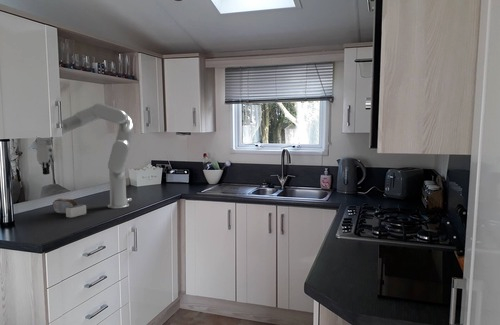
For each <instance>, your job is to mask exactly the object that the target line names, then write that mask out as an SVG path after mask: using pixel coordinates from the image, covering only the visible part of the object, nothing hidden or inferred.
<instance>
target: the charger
mask: <svg viewBox="0 0 500 325" xmlns="http://www.w3.org/2000/svg"><path fill="white" fill-rule="evenodd" d="M82 215H83V216H84V215H87V205H86V204H77V205H76V206H72V207H68V208H66V214H65V217H66V218H75V217H78V216H82Z"/></svg>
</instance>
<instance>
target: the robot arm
mask: <svg viewBox="0 0 500 325" xmlns="http://www.w3.org/2000/svg"><path fill="white" fill-rule="evenodd" d="M100 119H102V120H104V121H108V122H111V123H114V124H116V125H118V129H117V130H118V131H117V135H116V138H115V141H114V143H113V144H112V147H111V150H110V151H111V152H110V154H109V159H108V163H107V169H108V170H109V171H108V172H109V176H108V177H109V180H108V181H109V202H110V203H109V204H107V208H109V209H123V208H124V209H125V208H127V207H128V208H129V206H130V204H129V202H131V201H132V200H133V199H132V197H129V198H127V184H126V183H127V182H126V181H127V178H126V174H127V173H126V170H127V169H126V167H127V166H126V163H127V159H128V155H129V151H130V145H131V140H132V136H133V132H134V124H133V120H132V118H131V117H130V116H129V114H128V113H126V111H124V110H122V109H119V108H115V107H113V106H110V105H107V104H104V103H102V102H97V103H94V104H93V105H92V106H90V107H87V108H85V109H81V110H80V111H76V113H74V114H73V115H71V116H70V117H67V118H65V119H63V120H61V121H62V134H61V135H64V134H66V133H68V132H71V131H74V130H75V129H78V128H81V127H84V126H86V125H88V124H90V123H93V122H96V121H98V120H100ZM53 146H54V145H53V143H52V137H51V138H37V137H36V160H37V162H38V164H39V165H40V166H41V168H42V175H50V173H51V172H50V168H51V166H52V165H53V163H55V161H56V159H55V151H54V147H53Z"/></svg>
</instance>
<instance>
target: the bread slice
mask: <svg viewBox="0 0 500 325" xmlns="http://www.w3.org/2000/svg"><path fill="white" fill-rule="evenodd" d="M76 205H78V204H77V202H76V201H75V200H74V199H70V198H68V199H67V198H58V199H55V200H54V201H53V202H52V208H53V211H54V212H55V213H56V214H61V215H62V214H63V215H66V208H68V207H72V206H76Z"/></svg>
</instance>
